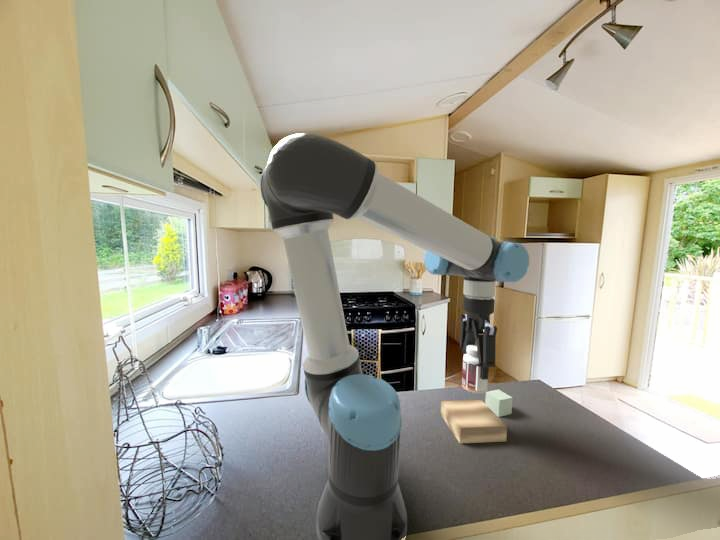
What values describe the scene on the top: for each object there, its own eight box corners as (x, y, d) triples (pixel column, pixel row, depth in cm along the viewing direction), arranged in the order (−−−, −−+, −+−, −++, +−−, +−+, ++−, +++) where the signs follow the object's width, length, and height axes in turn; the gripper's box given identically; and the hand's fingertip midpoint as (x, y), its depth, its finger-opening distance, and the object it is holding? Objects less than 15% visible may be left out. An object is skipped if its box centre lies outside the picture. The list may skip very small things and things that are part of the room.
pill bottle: (492, 390, 73) (494, 349, 72) (477, 397, 70) (480, 353, 69) (471, 381, 78) (473, 342, 77) (456, 386, 75) (458, 346, 74)
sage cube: (511, 414, 81) (512, 397, 81) (498, 417, 80) (499, 400, 79) (497, 405, 86) (498, 389, 86) (484, 407, 84) (485, 391, 84)
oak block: (506, 441, 69) (507, 425, 69) (459, 443, 68) (460, 427, 68) (480, 413, 81) (481, 399, 81) (440, 414, 80) (441, 401, 80)
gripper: (516, 304, 63) (510, 402, 65) (473, 291, 82) (469, 367, 84) (485, 304, 62) (479, 404, 64) (449, 291, 81) (445, 368, 83)
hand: (474, 383), depth 74 cm, fingers closed on pill bottle, 6 cm apart
